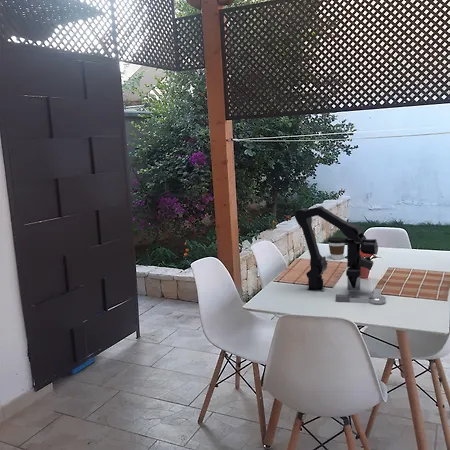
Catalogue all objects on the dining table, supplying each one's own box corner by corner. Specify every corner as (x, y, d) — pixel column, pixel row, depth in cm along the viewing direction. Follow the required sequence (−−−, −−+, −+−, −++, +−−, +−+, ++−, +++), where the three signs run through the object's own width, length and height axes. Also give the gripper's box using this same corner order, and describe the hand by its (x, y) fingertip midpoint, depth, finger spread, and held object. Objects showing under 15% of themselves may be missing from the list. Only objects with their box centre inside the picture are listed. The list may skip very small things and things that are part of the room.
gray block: (347, 290, 214) (347, 277, 213) (347, 286, 219) (347, 274, 218) (360, 290, 212) (360, 277, 211) (360, 286, 217) (360, 274, 216)
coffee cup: (323, 258, 282) (323, 238, 280) (338, 255, 286) (338, 236, 284) (335, 261, 272) (335, 241, 270) (350, 258, 277) (350, 239, 275)
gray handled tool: (335, 302, 204) (335, 290, 203) (336, 297, 211) (336, 286, 210) (386, 305, 198) (386, 292, 197) (385, 299, 205) (385, 287, 204)
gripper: (372, 258, 201) (372, 292, 204) (371, 248, 219) (371, 280, 222) (345, 257, 205) (346, 291, 207) (347, 248, 222) (347, 279, 225)
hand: (353, 285), depth 215 cm, fingers closed on gray block, 6 cm apart
